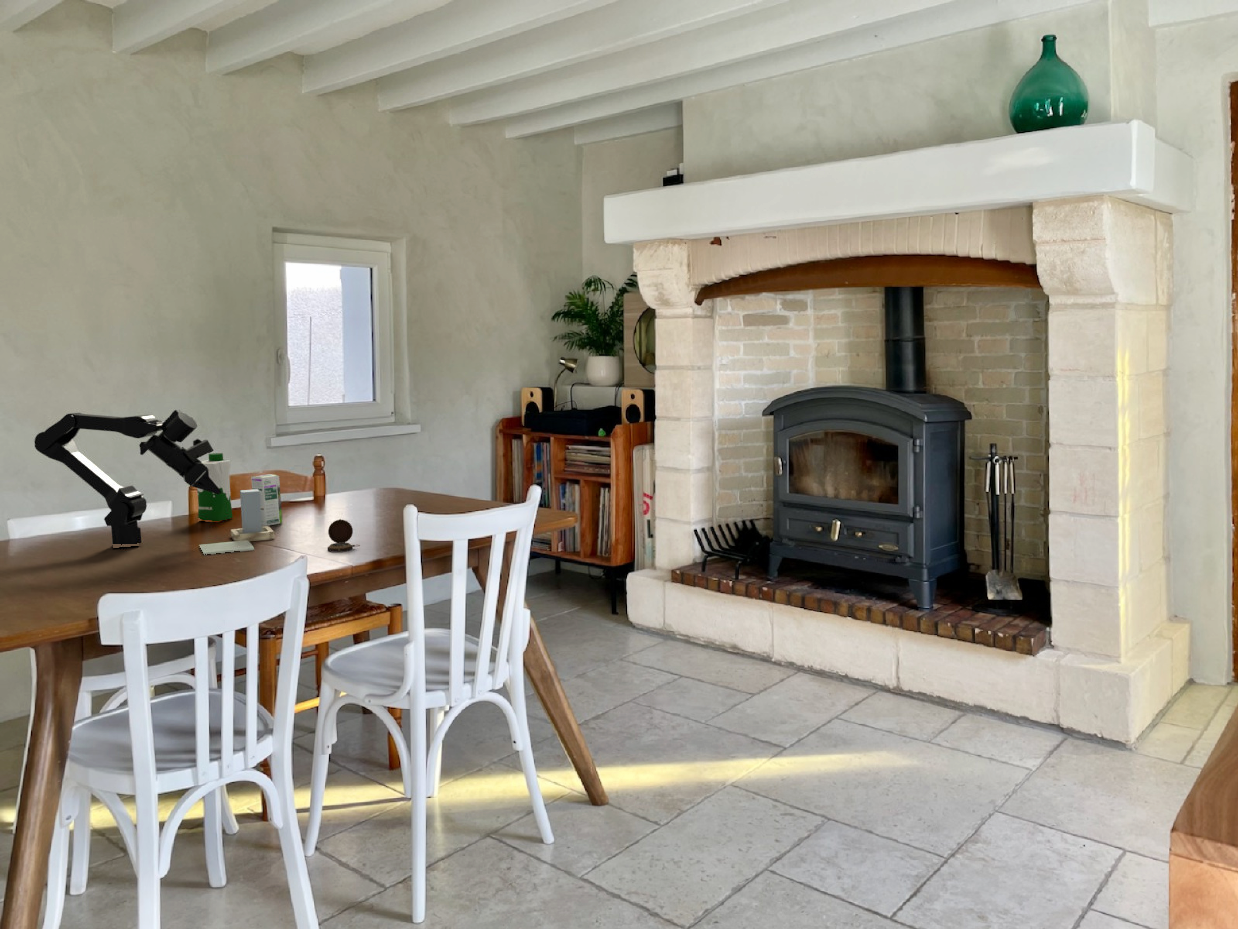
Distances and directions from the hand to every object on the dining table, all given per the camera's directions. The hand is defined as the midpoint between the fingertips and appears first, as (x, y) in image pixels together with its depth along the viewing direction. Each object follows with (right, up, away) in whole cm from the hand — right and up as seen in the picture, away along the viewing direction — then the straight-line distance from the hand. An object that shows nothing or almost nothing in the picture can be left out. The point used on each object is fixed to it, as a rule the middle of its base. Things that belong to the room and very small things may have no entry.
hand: (218, 491), depth 268 cm
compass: (+37, -15, -12) cm, 42 cm away
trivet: (+6, -15, -9) cm, 18 cm away
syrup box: (+4, -11, +26) cm, 28 cm away
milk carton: (-15, -10, +34) cm, 39 cm away
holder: (+7, -13, +5) cm, 16 cm away
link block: (+7, -13, +5) cm, 16 cm away
